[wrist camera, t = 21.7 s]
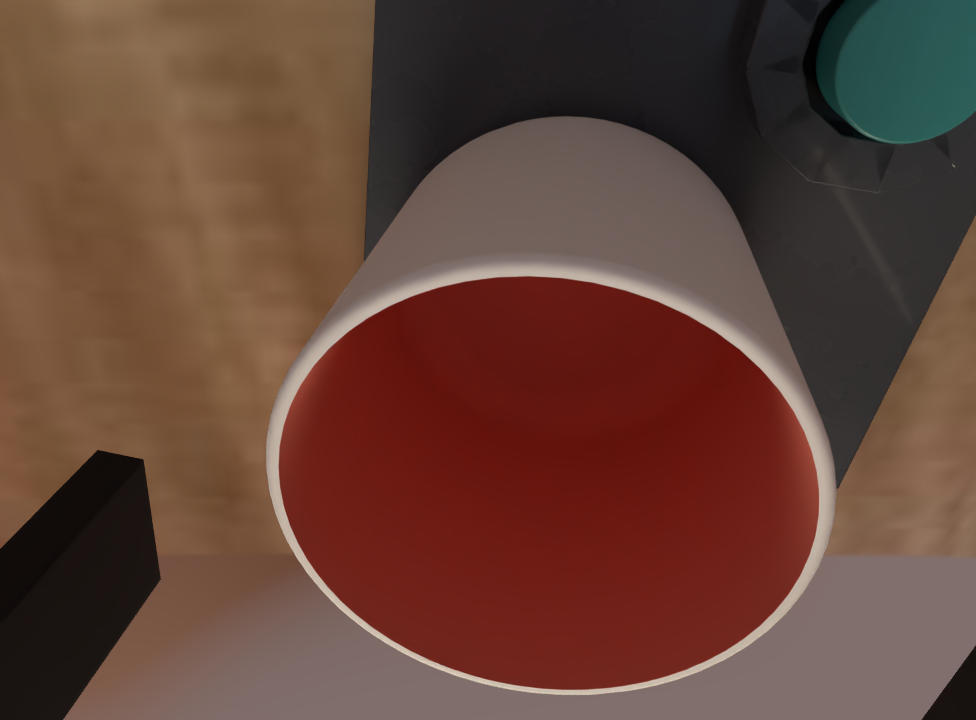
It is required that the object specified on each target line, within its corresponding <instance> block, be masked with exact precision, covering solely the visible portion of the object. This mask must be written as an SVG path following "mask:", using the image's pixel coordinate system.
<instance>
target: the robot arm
mask: <svg viewBox="0 0 976 720" xmlns="http://www.w3.org/2000/svg"><path fill="white" fill-rule="evenodd" d="M160 580H161V578H160V571H159V564H158V557H157V550H156V543H155V536H154V530H153V523H152V516H151V509H150V502H149V495H148V488H147V481H146V474H145V467H144V461H143V459H139V458H134V457H129V456H124V455H119V454H114V453H109V452H105V451H100V450H97V451H96V452H95V453H94V454H93V455H92V456H91V457H90V458H89V459H88V460H87V461H86V462H85V463H84V464H83V465H82V466H81V468H80V469H79V470H78V471H77V472H76V473H75V474H74V475H73V476H72V477H71V478H70V479H69V480H68V481H67V482H66V483H65V484H64V485H63V486H62V487H61V488H60V489H59V490H58V491H57V492H56V493H55V494H54V495H53V496H52V497H51V498H50V499H49V500H48V501H47V502H46V503H45V504H44V505H43V506H42V507H41V508H40V509H39V510H38V511H37V512H36V513H35V514H34V515H33V516H32V517H31V518H30V519H29V520H28V521H27V522H26V523H25V524H24V525H23V526H22V527H21V528H20V529H19V530H18V532H17V533H16V534H15V535H14V536H13V537H12V538H11V539H10V540H9V541H8V542H7V543H6V544H5V545H4V546H3V547H2V548H1V549H0V720H63V719H64V718H65V716H66V714H67V713H68V712H69V710H70V709H71V708H72V706H73V705H74V703H75V702H76V700H77V699H78V698H79V696H80V695H81V693H82V692H83V690H84V689H85V687H86V686H87V685H88V683H89V682H90V680H91V678H92V677H93V676H94V674H95V673H96V671H97V670H98V669H99V667H100V666H101V664H102V663H103V662H104V660H105V659H106V657H107V656H108V654H109V653H110V651H111V650H112V649H113V647H114V646H115V644H116V643H117V641H118V640H119V639H120V637H121V636H122V634H123V633H124V631H125V630H126V628H127V627H128V626H129V624H130V623H131V621H132V620H133V618H134V617H135V615H136V614H137V613H138V611H139V610H140V608H141V607H142V605H143V604H144V602H145V601H146V600H147V598H148V597H149V595H150V594H151V592H152V591H153V589H154V588H155V587H156V585H157V584H158V582H159V581H160ZM922 720H976V646H975V647H974V649H973V650H972V652H971V653H970V654H969V656H968V657H967V658H966V660H965V661H964V663H963V664H962V665H961V667H960V668H959V669H958V671H957V672H956V673H955V675H954V676H953V678H952V679H951V681H950V682H949V683H948V684H947V686H946V687H945V688H944V690H943V691H942V693H941V694H940V695H939V697H938V698H937V699H936V701H935V702H934V704H933V705H932V706H931V708H930V709H929V710H928V712H927V713H926V714H925V716H924V717H923V719H922Z"/></svg>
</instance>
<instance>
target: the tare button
mask: <svg viewBox="0 0 976 720" xmlns="http://www.w3.org/2000/svg"><path fill="white" fill-rule="evenodd" d="M816 75H817V81H818V85H819V88H820V91H821V93H822V95H823V97H824V99H825V100H826V102H827V103H828V104H829V105H830V107H831V108H832V109H833V110H834V111H835V112H836V113H838V114H839V115H840V116H841V117H842V118H843V119H844V120H845V121H847V122H848V123H849V124H850V125H851V126H852V127H854V128H855V129H856V130H857V131H858V132H860V133H861V134H863V135H865V136H867V137H869V138H871V139H874V140H876V141H880V142H884V143H891V144H909V143H916V142H921V141H924V140H928V139H931V138H934V137H936V136H939V135H941V134H943V133H945V132H947V131H949V130H951V129H953V128H954V127H956V126H957V125H959V124H961V123H962V122H963V121H965V120H966V119H967V118H968V117H970V116H971V115H972V114H973V113H974V112H975V111H976V0H845V1H844V2H843V3H842V4H841V6H840V7H839V8H838V9H837V10H836V12H835V13H834V15H833V16H832V17H831V19H830V20H829V22H828V24H827V26H826V28H825V30H824V32H823V34H822V37H821V39H820V43H819V46H818V50H817V57H816Z"/></svg>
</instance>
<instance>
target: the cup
mask: <svg viewBox="0 0 976 720" xmlns="http://www.w3.org/2000/svg"><path fill="white" fill-rule="evenodd" d="M266 469H267V476H268V484H269V491H270V495H271V499H272V502H273V506H274V510H275V514H276V516H277V518H278V521H279V523H280V526H281V528H282V531H283V533H284V536H285V537H286V539H287V541H288V543H289V545H290V547H291V548H292V550H293V552H294V554H295V556H296V557H297V559H298V560H299V562H300V563H301V565H302V566H303V567H304V569H305V570H306V572H307V573H308V575H309V576H310V577H311V578H312V579H313V581H314V582H315V583H316V584H317V586H318V587H319V588H320V589H321V590H322V591H323V592H324V593H325V594H326V595H327V596H328V597H329V598H330V600H332V601H333V603H334V604H335V605H336V606H338V608H340V609H341V610H342V611H343V612H344V613H345V614H347V615H348V616H349V617H350V618H351V619H352V620H354V621H355V622H356V623H358V624H359V625H360V626H362V627H363V628H364V629H365V630H367V631H368V632H370V633H371V634H373V635H374V636H376V637H377V638H379V639H380V640H382V641H383V642H385V643H387V644H388V645H390V646H392V647H393V648H395V649H397V650H399V651H400V652H402V653H404V654H406V655H408V656H410V657H412V658H414V659H416V660H418V661H420V662H423V663H425V664H427V665H430V666H432V667H434V668H436V669H439V670H442V671H445V672H447V673H450V674H453V675H456V676H459V677H462V678H465V679H469V680H472V681H475V682H479V683H483V684H487V685H491V686H496V687H501V688H506V689H511V690H517V691H525V692H533V693H543V694H556V695H557V694H559V695H591V694H592V695H593V694H602V693H612V692H622V691H630V690H635V689H641V688H646V687H651V686H655V685H659V684H662V683H666V682H670V681H673V680H677V679H680V678H682V677H685V676H688V675H691V674H694V673H696V672H699V671H702V670H704V669H706V668H708V667H710V666H712V665H714V664H716V663H718V662H721V661H723V660H725V659H727V658H728V657H730V656H731V655H733V654H735V653H737V652H738V651H740V650H742V649H743V648H745V647H747V646H748V645H749V644H751V643H752V642H753V641H755V640H756V639H758V638H759V637H760V636H761V635H763V634H764V633H765V632H767V631H768V630H769V629H770V628H771V627H772V626H773V625H774V624H775V623H776V622H777V621H778V620H780V618H782V616H784V615H785V614H786V613H787V612H788V611H789V610H790V608H791V607H792V606H793V604H794V603H795V602H796V601H797V600H798V598H799V597H800V596H801V595H802V593H803V592H804V591H805V589H806V588H807V586H808V584H809V582H810V581H811V579H812V577H813V576H814V574H815V572H816V571H817V569H818V567H819V565H820V562H821V560H822V557H823V555H824V552H825V550H826V547H827V545H828V542H829V538H830V534H831V530H832V525H833V521H834V515H835V503H836V477H835V465H834V460H833V455H832V451H831V447H830V442H829V438H828V436H827V433H826V430H825V427H824V425H823V422H822V419H821V417H820V414H819V412H818V409H817V407H816V405H815V402H814V400H813V398H812V395H811V393H810V390H809V388H808V386H807V383H806V381H805V378H804V376H803V374H802V371H801V369H800V367H799V364H798V362H797V359H796V357H795V355H794V352H793V350H792V348H791V345H790V343H789V340H788V338H787V336H786V333H785V331H784V328H783V326H782V324H781V321H780V319H779V317H778V314H777V312H776V309H775V307H774V305H773V302H772V300H771V297H770V295H769V293H768V290H767V288H766V286H765V283H764V281H763V278H762V276H761V274H760V271H759V269H758V266H757V264H756V262H755V259H754V257H753V254H752V252H751V250H750V247H749V245H748V243H747V240H746V238H745V235H744V233H743V231H742V228H741V226H740V224H739V222H738V220H737V218H736V216H735V214H734V212H733V210H732V208H731V206H730V205H729V203H728V202H727V200H726V199H725V197H724V196H723V194H722V193H721V191H720V190H719V189H718V188H717V186H716V185H715V184H714V183H713V182H712V180H711V179H710V178H709V177H708V176H707V175H706V174H705V173H704V172H703V171H702V170H701V169H700V168H699V167H698V166H697V165H696V164H694V163H693V162H692V161H691V160H690V159H688V158H687V157H686V156H685V155H683V154H682V153H680V152H679V151H678V150H676V149H675V148H673V147H672V146H670V145H669V144H667V143H665V142H663V141H661V140H659V139H658V138H656V137H654V136H652V135H649V134H647V133H645V132H643V131H640V130H638V129H635V128H632V127H629V126H626V125H623V124H620V123H615V122H611V121H607V120H602V119H595V118H587V117H571V116H562V117H546V118H538V119H531V120H527V121H522V122H517V123H514V124H511V125H508V126H505V127H503V128H500V129H497V130H494V131H491V132H488V133H486V134H484V135H482V136H480V137H478V138H476V139H474V140H472V141H470V142H468V143H467V144H465V145H464V146H462V147H461V148H459V149H458V150H456V151H455V152H453V153H452V154H450V155H449V156H448V157H447V158H446V159H444V160H443V161H442V162H441V163H440V164H438V165H437V166H436V167H435V168H434V169H433V170H432V171H431V172H430V173H429V174H428V175H427V176H426V177H425V178H424V179H423V181H422V182H421V183H420V184H419V185H418V187H417V188H416V189H415V190H414V192H413V193H412V195H411V196H410V198H409V199H408V200H407V202H406V203H405V205H404V206H403V207H402V209H401V210H400V212H399V213H398V215H397V216H396V217H395V219H394V220H393V222H392V223H391V225H390V226H389V227H388V229H387V230H386V232H385V233H384V234H383V236H382V237H381V239H380V240H379V242H378V243H377V244H376V246H375V247H374V249H373V250H372V251H371V253H370V254H369V256H368V257H367V259H366V260H365V261H364V263H363V264H362V266H361V267H360V268H359V270H358V271H357V273H356V274H355V275H354V277H353V278H352V280H351V281H350V283H349V284H348V285H347V287H346V288H345V290H344V291H343V292H342V294H341V295H340V297H339V298H338V299H337V301H336V302H335V304H334V305H333V307H332V308H331V309H330V311H329V312H328V314H327V315H326V316H325V318H324V319H323V321H322V322H321V324H320V325H319V326H318V328H317V329H316V331H315V332H314V333H313V335H312V336H311V338H310V339H309V340H308V342H307V343H306V345H305V346H304V348H303V349H302V350H301V352H300V353H299V355H298V356H297V358H296V359H295V361H294V362H293V364H292V365H291V367H290V369H289V370H288V372H287V374H286V376H285V378H284V380H283V382H282V385H281V387H280V389H279V391H278V394H277V397H276V400H275V403H274V406H273V409H272V412H271V417H270V423H269V428H268V434H267V440H266Z"/></svg>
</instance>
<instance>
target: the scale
mask: <svg viewBox="0 0 976 720" xmlns="http://www.w3.org/2000/svg"><path fill="white" fill-rule="evenodd" d="M844 1H845V0H376V1H375V23H374V46H373V69H372V92H371V114H370V137H369V160H368V183H367V205H366V228H365V251H364V261H365V260H366V259H367V257H368V256H369V254H370V253H371V251H372V250H373V249H374V247H375V246H376V244H377V243H378V242H379V240H380V239H381V237H382V236H383V234H384V233H385V232H386V230H387V229H388V227H389V226H390V225H391V223H392V222H393V220H394V219H395V217H396V216H397V215H398V213H399V212H400V210H401V209H402V207H403V206H404V205H405V203H406V202H407V200H408V199H409V198H410V196H411V195H412V193H413V192H414V190H415V189H416V188H417V187H418V185H419V184H420V183H421V182H422V181H423V179H424V178H425V177H426V176H427V175H428V174H429V173H430V172H431V171H432V170H433V169H434V168H435V167H436V166H437V165H438V164H440V163H441V162H442V161H443V160H444V159H446V158H447V157H448V156H449V155H450V154H452V153H453V152H455V151H456V150H458V149H459V148H461V147H462V146H464V145H465V144H467V143H468V142H470V141H472V140H474V139H476V138H478V137H480V136H482V135H484V134H486V133H488V132H491V131H494V130H497V129H500V128H503V127H505V126H508V125H511V124H514V123H517V122H522V121H527V120H531V119H538V118H546V117H562V116H571V117H587V118H595V119H602V120H607V121H611V122H615V123H620V124H623V125H626V126H629V127H632V128H635V129H638V130H640V131H643V132H645V133H647V134H649V135H652V136H654V137H656V138H658V139H659V140H661V141H663V142H665V143H667V144H669V145H670V146H672V147H673V148H675V149H676V150H678V151H679V152H680V153H682V154H683V155H685V156H686V157H687V158H688V159H690V160H691V161H692V162H693V163H694V164H696V165H697V166H698V167H699V168H700V169H701V170H702V171H703V172H704V173H705V174H706V175H707V176H708V177H709V178H710V179H711V180H712V182H713V183H714V184H715V185H716V186H717V188H718V189H719V190H720V191H721V193H722V194H723V196H724V197H725V199H726V200H727V202H728V203H729V205H730V206H731V208H732V210H733V212H734V214H735V216H736V218H737V220H738V222H739V224H740V226H741V228H742V231H743V233H744V235H745V238H746V240H747V243H748V245H749V247H750V250H751V252H752V254H753V257H754V259H755V262H756V264H757V266H758V269H759V271H760V274H761V276H762V278H763V281H764V283H765V286H766V288H767V290H768V293H769V295H770V297H771V300H772V302H773V305H774V307H775V309H776V312H777V314H778V317H779V319H780V321H781V324H782V326H783V328H784V331H785V333H786V336H787V338H788V340H789V343H790V345H791V348H792V350H793V352H794V355H795V357H796V359H797V362H798V364H799V367H800V369H801V371H802V374H803V376H804V378H805V381H806V383H807V386H808V388H809V390H810V393H811V395H812V398H813V400H814V402H815V405H816V407H817V409H818V412H819V414H820V417H821V419H822V422H823V425H824V427H825V430H826V433H827V436H828V438H829V442H830V447H831V451H832V455H833V460H834V465H835V477H836V489H838V488H839V486H840V484H841V482H842V480H843V478H844V476H845V474H846V472H847V470H848V468H849V466H850V464H851V462H852V460H853V458H854V456H855V454H856V452H857V450H858V448H859V446H860V444H861V442H862V440H863V438H864V436H865V434H866V432H867V430H868V428H869V426H870V424H871V422H872V420H873V418H874V416H875V414H876V412H877V410H878V408H879V406H880V404H881V402H882V400H883V398H884V396H885V394H886V392H887V390H888V388H889V386H890V384H891V382H892V380H893V378H894V376H895V374H896V372H897V370H898V368H899V366H900V364H901V362H902V360H903V358H904V356H905V354H906V352H907V350H908V348H909V346H910V344H911V342H912V340H913V338H914V336H915V334H916V332H917V330H918V328H919V326H920V324H921V322H922V320H923V318H924V316H925V314H926V313H927V311H928V309H929V307H930V305H931V303H932V301H933V299H934V297H935V295H936V293H937V291H938V289H939V287H940V285H941V283H942V281H943V279H944V277H945V275H946V273H947V271H948V269H949V267H950V265H951V263H952V261H953V259H954V257H955V255H956V253H957V251H958V249H959V247H960V245H961V243H962V241H963V239H964V237H965V235H966V233H967V231H968V229H969V227H970V225H971V223H972V221H973V219H974V217H975V215H976V111H975V112H974V113H973V114H972V115H971V116H970V117H968V118H967V119H966V120H965V121H963V122H962V123H961V124H959V125H957V126H956V127H954V128H953V129H951V130H949V131H947V132H945V133H943V134H941V135H939V136H936V137H934V138H931V139H928V140H924V141H921V142H916V143H909V144H891V143H884V142H880V141H876V140H874V139H871V138H869V137H867V136H865V135H863V134H861V133H860V132H858V131H857V130H856V129H855V128H854V127H852V126H851V125H850V124H849V123H848V122H847V121H845V120H844V119H843V118H842V117H841V116H840V115H839V114H838V113H836V112H835V111H834V110H833V109H832V108H831V107H830V105H829V104H828V103H827V102H826V100H825V99H824V97H823V95H822V93H821V91H820V88H819V85H818V81H817V75H816V57H817V50H818V46H819V43H820V39H821V37H822V34H823V32H824V30H825V28H826V26H827V24H828V22H829V20H830V19H831V17H832V16H833V15H834V13H835V12H836V10H837V9H838V8H839V7H840V6H841V4H842V3H843V2H844Z"/></svg>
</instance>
